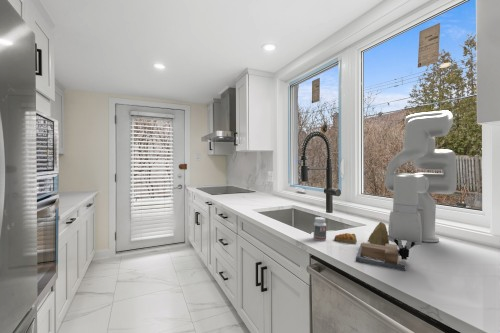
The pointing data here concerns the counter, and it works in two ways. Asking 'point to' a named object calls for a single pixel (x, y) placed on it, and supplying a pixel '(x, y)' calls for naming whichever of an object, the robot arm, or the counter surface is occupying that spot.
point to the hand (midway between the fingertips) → (403, 258)
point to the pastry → (346, 238)
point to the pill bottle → (320, 229)
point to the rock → (379, 235)
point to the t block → (380, 252)
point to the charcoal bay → (378, 262)
